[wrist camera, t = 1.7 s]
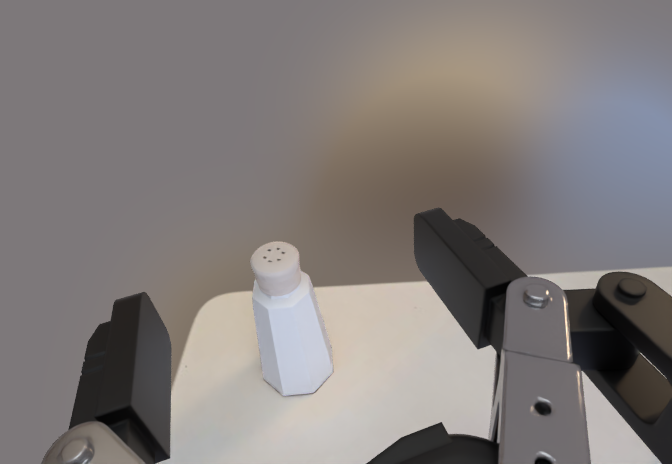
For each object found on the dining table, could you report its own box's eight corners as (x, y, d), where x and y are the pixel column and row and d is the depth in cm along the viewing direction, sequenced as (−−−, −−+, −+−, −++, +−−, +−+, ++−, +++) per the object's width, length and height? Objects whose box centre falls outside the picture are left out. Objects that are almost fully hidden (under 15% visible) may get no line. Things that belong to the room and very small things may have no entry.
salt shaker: (320, 408, 28) (299, 299, 21) (249, 387, 30) (207, 280, 23) (345, 342, 32) (334, 232, 25) (280, 327, 34) (253, 219, 27)
